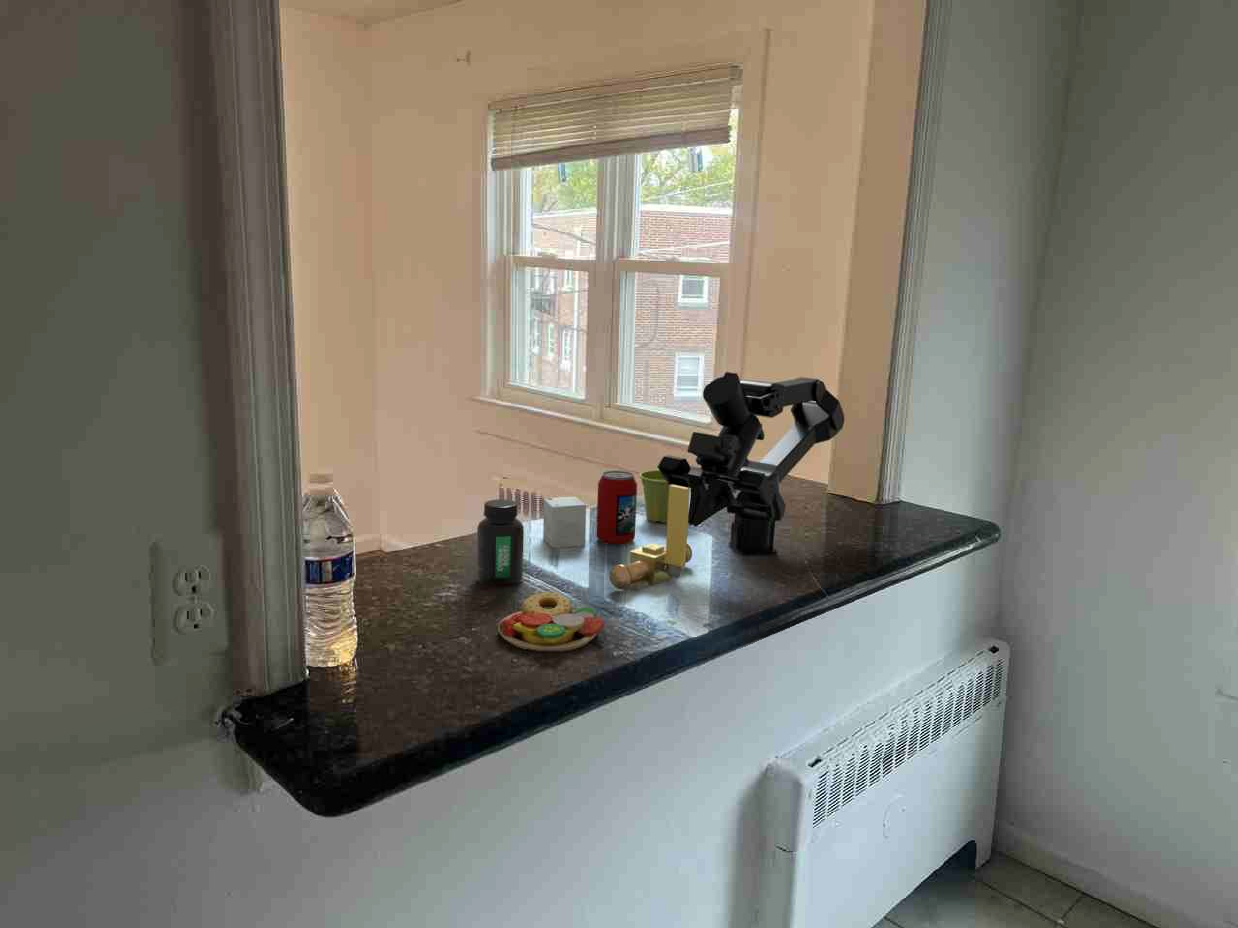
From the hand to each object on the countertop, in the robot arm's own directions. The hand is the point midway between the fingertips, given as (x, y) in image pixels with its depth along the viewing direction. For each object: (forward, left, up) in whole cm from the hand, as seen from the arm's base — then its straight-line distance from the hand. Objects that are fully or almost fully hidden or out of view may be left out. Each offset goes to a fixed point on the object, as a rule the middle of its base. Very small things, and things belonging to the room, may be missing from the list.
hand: (691, 524), depth 137 cm
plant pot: (-7, -32, -9) cm, 34 cm away
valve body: (+6, -1, -9) cm, 10 cm away
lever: (+3, +2, -7) cm, 8 cm away
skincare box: (+15, -21, -9) cm, 27 cm away
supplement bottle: (+29, -5, -9) cm, 30 cm away
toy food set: (+26, +17, -9) cm, 32 cm away
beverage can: (+6, -20, -9) cm, 23 cm away
